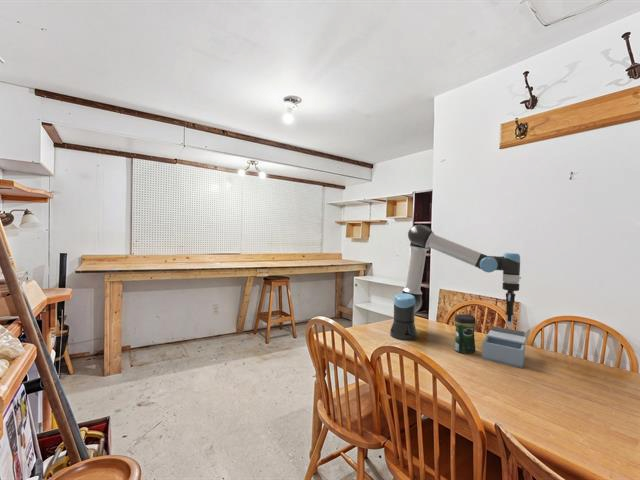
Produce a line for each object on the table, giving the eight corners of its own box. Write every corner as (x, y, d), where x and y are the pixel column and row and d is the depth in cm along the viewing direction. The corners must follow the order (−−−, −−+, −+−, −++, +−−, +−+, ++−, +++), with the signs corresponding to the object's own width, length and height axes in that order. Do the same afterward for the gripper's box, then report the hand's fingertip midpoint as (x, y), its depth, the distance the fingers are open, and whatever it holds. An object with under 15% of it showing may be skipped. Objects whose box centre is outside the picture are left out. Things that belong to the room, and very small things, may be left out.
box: (481, 358, 146) (482, 342, 145) (486, 351, 155) (487, 335, 155) (522, 368, 136) (522, 350, 136) (524, 360, 145) (525, 343, 145)
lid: (486, 336, 153) (486, 330, 153) (490, 331, 162) (490, 325, 162) (524, 344, 143) (524, 337, 143) (526, 338, 152) (526, 331, 152)
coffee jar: (469, 348, 159) (471, 312, 159) (477, 354, 151) (478, 316, 151) (451, 348, 159) (452, 312, 159) (458, 353, 151) (459, 316, 151)
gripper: (518, 284, 154) (516, 331, 154) (520, 282, 164) (519, 325, 164) (500, 283, 158) (499, 328, 159) (504, 280, 169) (503, 323, 169)
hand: (509, 327), depth 161 cm, fingers closed
